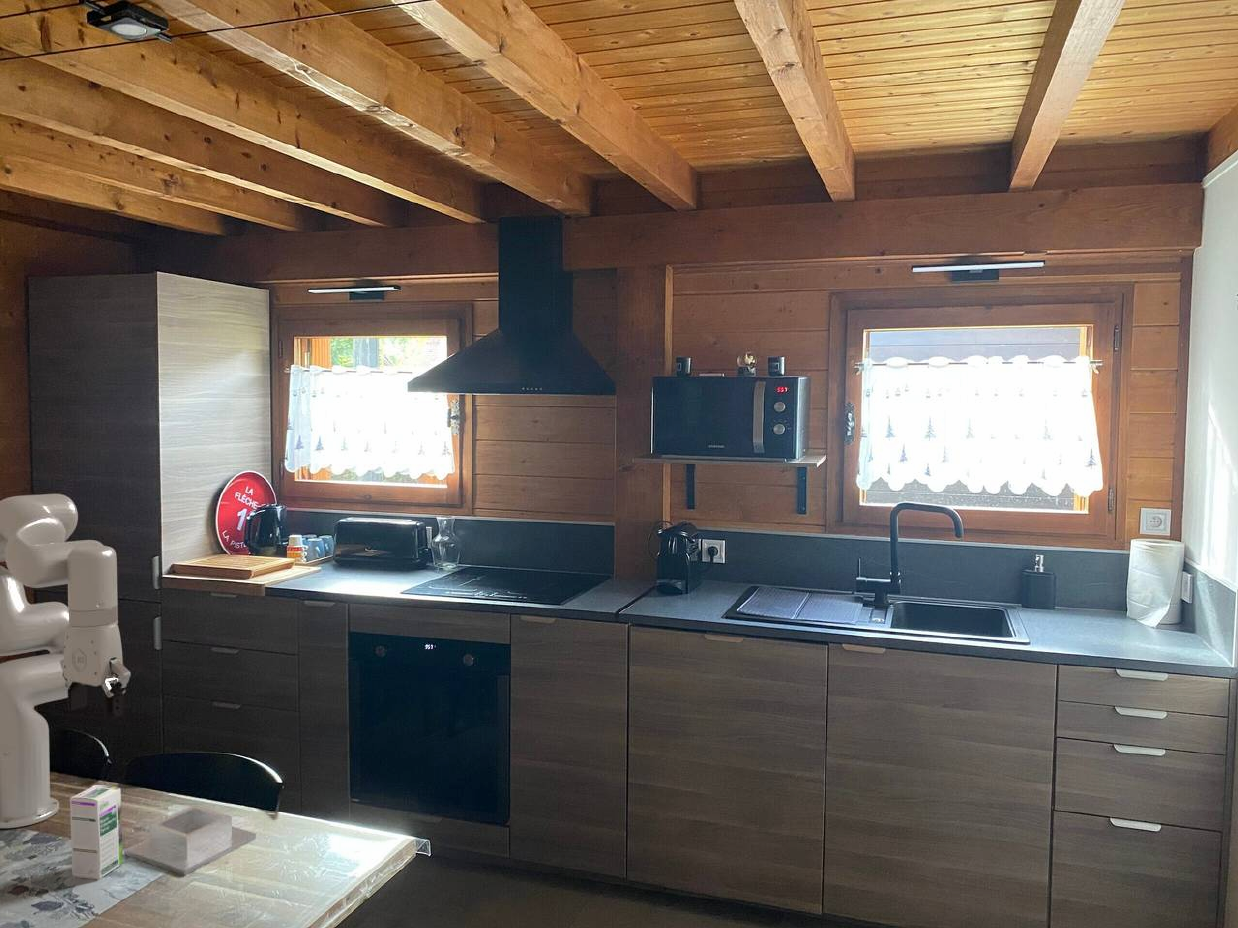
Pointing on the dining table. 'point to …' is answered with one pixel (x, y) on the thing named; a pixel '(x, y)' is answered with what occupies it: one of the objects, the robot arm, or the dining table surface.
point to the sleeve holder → (189, 840)
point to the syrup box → (96, 831)
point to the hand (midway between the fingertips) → (95, 712)
